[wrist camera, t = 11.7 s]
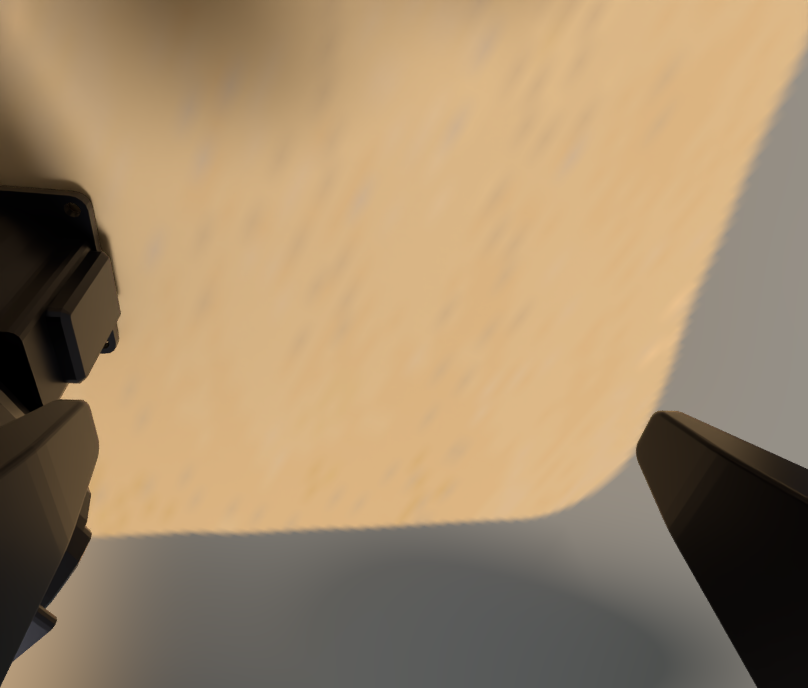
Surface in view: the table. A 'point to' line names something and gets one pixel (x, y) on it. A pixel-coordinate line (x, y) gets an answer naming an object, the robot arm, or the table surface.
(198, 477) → the table surface
